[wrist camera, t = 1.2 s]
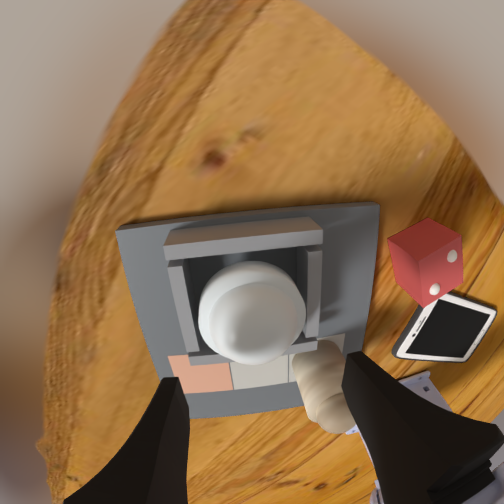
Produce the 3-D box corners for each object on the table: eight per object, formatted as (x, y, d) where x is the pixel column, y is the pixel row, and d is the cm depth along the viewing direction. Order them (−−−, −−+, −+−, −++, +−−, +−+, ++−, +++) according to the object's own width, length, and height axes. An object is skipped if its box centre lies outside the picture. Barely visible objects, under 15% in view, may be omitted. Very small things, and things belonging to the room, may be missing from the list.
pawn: (342, 335, 21) (380, 403, 15) (337, 371, 23) (367, 436, 16) (292, 344, 21) (318, 420, 15) (291, 380, 23) (312, 450, 16)
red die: (427, 217, 20) (465, 237, 16) (433, 260, 21) (466, 284, 17) (387, 238, 20) (421, 263, 16) (396, 281, 21) (426, 311, 17)
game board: (372, 201, 19) (400, 215, 15) (348, 387, 26) (360, 413, 22) (120, 225, 17) (101, 246, 14) (176, 411, 24) (174, 440, 21)
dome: (295, 248, 16) (321, 289, 12) (294, 329, 19) (314, 380, 14) (193, 259, 16) (186, 305, 12) (207, 340, 18) (207, 394, 14)
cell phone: (462, 358, 28) (466, 363, 27) (386, 352, 25) (390, 358, 24) (494, 307, 26) (499, 311, 25) (427, 282, 22) (433, 287, 22)
